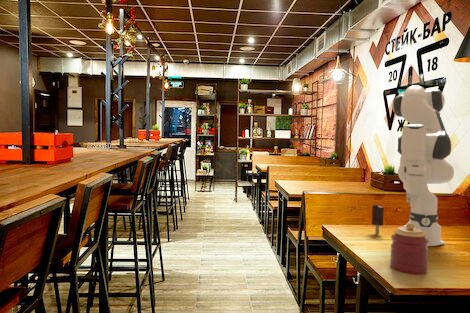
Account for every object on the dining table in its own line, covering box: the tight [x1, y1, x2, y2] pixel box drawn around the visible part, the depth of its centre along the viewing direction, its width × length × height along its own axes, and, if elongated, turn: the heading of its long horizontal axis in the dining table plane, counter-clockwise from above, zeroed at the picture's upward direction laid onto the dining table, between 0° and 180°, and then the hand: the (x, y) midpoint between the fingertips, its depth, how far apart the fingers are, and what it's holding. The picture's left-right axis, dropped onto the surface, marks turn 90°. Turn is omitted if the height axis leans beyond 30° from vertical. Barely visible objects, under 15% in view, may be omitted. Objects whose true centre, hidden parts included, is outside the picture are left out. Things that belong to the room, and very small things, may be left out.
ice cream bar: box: [371, 204, 385, 235], centre depth 196 cm, size 5×2×15 cm, turn 62°
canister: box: [389, 222, 429, 276], centre depth 145 cm, size 13×13×18 cm
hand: (411, 204), depth 144 cm, fingers open, 8 cm apart
